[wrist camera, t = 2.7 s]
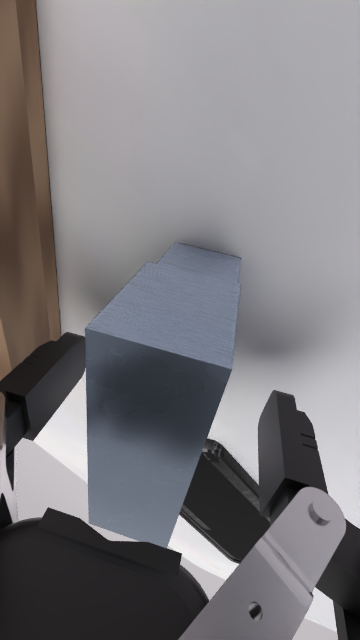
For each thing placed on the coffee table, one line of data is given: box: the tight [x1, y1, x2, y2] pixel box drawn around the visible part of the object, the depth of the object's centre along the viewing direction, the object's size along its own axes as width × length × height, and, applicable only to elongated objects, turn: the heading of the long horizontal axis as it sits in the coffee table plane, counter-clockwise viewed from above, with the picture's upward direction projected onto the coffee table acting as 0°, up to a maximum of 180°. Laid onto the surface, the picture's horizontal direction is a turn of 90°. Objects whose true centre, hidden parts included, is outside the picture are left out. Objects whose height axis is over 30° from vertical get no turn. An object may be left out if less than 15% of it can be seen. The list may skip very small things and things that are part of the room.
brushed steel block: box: [85, 242, 241, 548], centre depth 11 cm, size 9×3×8 cm, turn 171°
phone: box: [179, 439, 270, 564], centre depth 23 cm, size 8×1×15 cm
